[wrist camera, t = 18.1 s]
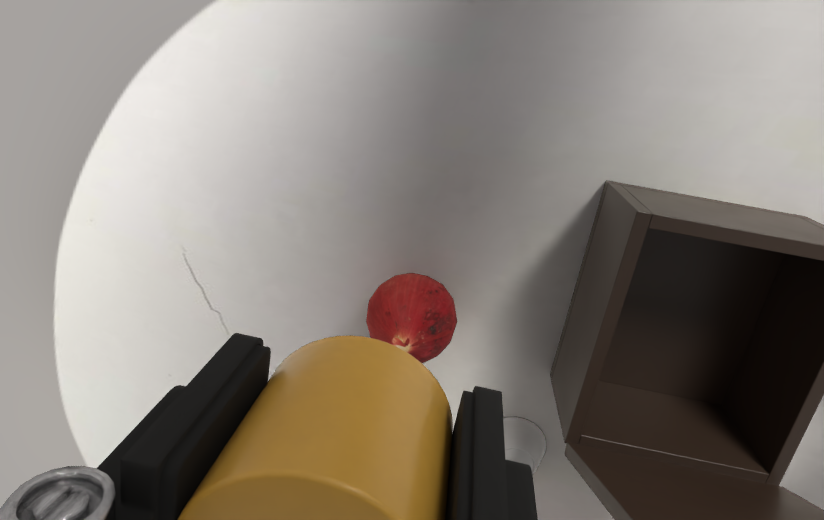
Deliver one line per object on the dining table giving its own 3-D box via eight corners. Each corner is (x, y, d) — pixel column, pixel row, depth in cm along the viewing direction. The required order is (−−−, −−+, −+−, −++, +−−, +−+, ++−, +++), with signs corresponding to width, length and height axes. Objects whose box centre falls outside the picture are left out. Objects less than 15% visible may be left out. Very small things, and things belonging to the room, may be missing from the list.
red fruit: (450, 251, 39) (443, 297, 31) (464, 326, 40) (461, 387, 33) (369, 264, 40) (343, 311, 32) (386, 336, 41) (365, 397, 34)
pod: (294, 304, 11) (198, 429, 7) (483, 377, 11) (483, 539, 7) (246, 455, 12) (145, 625, 9) (413, 520, 13) (383, 716, 9)
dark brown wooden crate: (605, 180, 36) (637, 210, 29) (806, 216, 35) (891, 257, 28) (549, 375, 41) (564, 443, 34) (724, 410, 40) (778, 488, 33)
